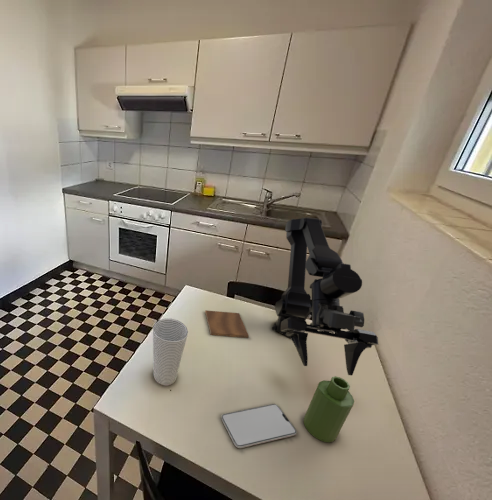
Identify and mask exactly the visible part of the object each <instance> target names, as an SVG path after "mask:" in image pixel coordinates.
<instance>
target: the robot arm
mask: <svg viewBox="0 0 492 500" xmlns="http://www.w3.org/2000/svg"><path fill="white" fill-rule="evenodd" d="M322 225H323V221H322V219H319V218H317V217H301V218H291V219H290V220H288V221H287V222H286V223H285V227H284V228H285V231H284V232H286V236H285V237H286V240H287V241H288V243H289V244H290V254H289V267H288V279H287V287H286V289H285V290H284V292H283V293H282V294H281V296H280V297H281V299H279V300H277V301H276V302H275V305H274V310H275V313H276V316H277V320H276V322H275V323H274V324H273V325H272V327H271V330H273V331H275V332H277V333H278V334H281V335H283V336H285V337H287V338H289V339H291V341H292V343H293V345H294V347H295V348H296V351H297V353H298V356H299V358H300V360H301V363H302V365H303V366H304V367H308V361H309V358H308V357H309V356H308V344H307V341H308V336H309V333H310V334H315V335H321V336H325V337H331V338H335V339H336V338H337V339H341V340H344V341H345V342H346V344H344V345H343V347H344V358H345V368H346V372H347V375H348V376H353V374H354V373H355V370H356V367H357V364H358V361H359V359H360V357H361V355H362V353H363V352H364V351H365V350H366V349H371V348H372V346H379V337H378V336H377V334H376V333H375V332H374V331H371V330H366V329H359V328H363V327H365V315H364V312H362V311H358V310H350V311H349V313H346V312H344V311H345V309H344V306H343V305H340V303H341V302H340V299H343V298H345V297H347V296H350V295H352V294H354V293H357V292H358V291H360V289H362V286H363V280H362V279H361V277H360V275H359V273H357V272H356V271H355V270H353V268H352V266H351V264H350V263H344V262H343V260H342V258H341V256H340V255H339V254H338V252H337V251H335V250H333V249H332V248H331V247H330V246H329V243H328V239H327V238H326V235H325V232H324V229H323V226H322ZM307 254H309V256H308V257H307ZM306 271H307V274H308V275H309V276H312V277H319V278H316V279H314V280H313V281H312V282H311V284H310V285H309V289H311V294H310V293H308V292H307V291H306V289H305V284H306ZM310 315H311V323H307V321H306V320H307V319H308V318H309V316H310ZM355 327H357V328H355Z"/></svg>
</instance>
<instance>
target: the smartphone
mask: <svg viewBox="0 0 492 500" xmlns="http://www.w3.org/2000/svg"><path fill="white" fill-rule="evenodd" d="M220 419H221V422H222V423H223V426H224V428H225V429H226V432H227V433H228V436H229V437H230V439H231V442H232V444H233V445H234V447H236V448H238V449H244V448H248V447H252V446H256V445H259V444H264V443H269V442H273V441H276V440H281V439H286V438H290V437H294V436H296V435H297V432H298V431H297V429H296V428H295V426H294V425H293V423H292V422H291V421H290V419H289V418H288V417H287V415H286V414H285V412H284V411H283V410H282V409H281V407H280V406H279V405H278V404H276V403H271V404H264V405H261V406H255V407H251V408H247V409H242V410H235V411H231V412H226V413H223V414H221V416H220Z"/></svg>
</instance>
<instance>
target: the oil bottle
mask: <svg viewBox="0 0 492 500" xmlns="http://www.w3.org/2000/svg"><path fill="white" fill-rule="evenodd" d="M350 388H351V384H350V383H349V382H348V381H347V380H346V379H344V378H343V377H340V376H336V375H334V376H332V377H331V379H330V380H321V381H319V382H318V384H317V386H316V389H315V391H314V394H313V396H312V399H311V400H310V403H309V405H308V407H307V410H306V412H305V414H304V417H303V425H304V427H305V429H306V430H307V431H308V433H309V434H310V435H311V436H313V437H314V438H315V439H317V440H319V441H321V442H324V443H332V442H334V441H336V439H337V437H338V436H339V434H340V432H341V430H342V428H343V426H344V424H345V422H346V420H347V419H348V416H349V414H350V412H351V411H352V408H353V407H354V404H355V399H354V396H353V395H352V394H351V392H350V391H349V390H350Z"/></svg>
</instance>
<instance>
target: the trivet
mask: <svg viewBox="0 0 492 500" xmlns="http://www.w3.org/2000/svg"><path fill="white" fill-rule="evenodd" d="M204 313H205V318H206V321H207V327H208V330H209V334H210V335H211V336H218V337H231V338H241V339H249V336H250V335H249V333H248V331H247V328H246V326H245V324H244V321H243V319H242V317H241V314H240V313H239V312H231V311H229V312H228V311H218V310H205V312H204Z"/></svg>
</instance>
